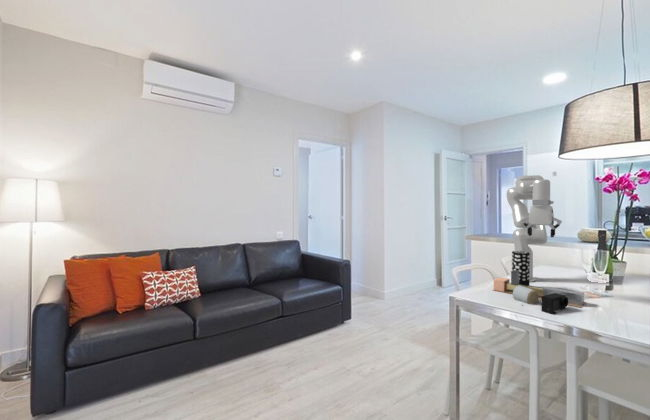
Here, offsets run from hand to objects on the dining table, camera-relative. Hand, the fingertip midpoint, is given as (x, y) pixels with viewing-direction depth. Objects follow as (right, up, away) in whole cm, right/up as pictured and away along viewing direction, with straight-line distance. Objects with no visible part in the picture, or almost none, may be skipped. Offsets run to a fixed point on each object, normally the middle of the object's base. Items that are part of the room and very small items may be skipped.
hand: (540, 236), depth 158 cm
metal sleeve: (+1, -30, -14) cm, 33 cm away
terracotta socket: (-17, -29, +7) cm, 34 cm away
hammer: (-9, -28, -2) cm, 30 cm away
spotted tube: (-2, -30, +13) cm, 33 cm away
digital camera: (-11, -31, -24) cm, 41 cm away
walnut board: (-6, -31, -6) cm, 32 cm away
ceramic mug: (-15, -31, -12) cm, 37 cm away
